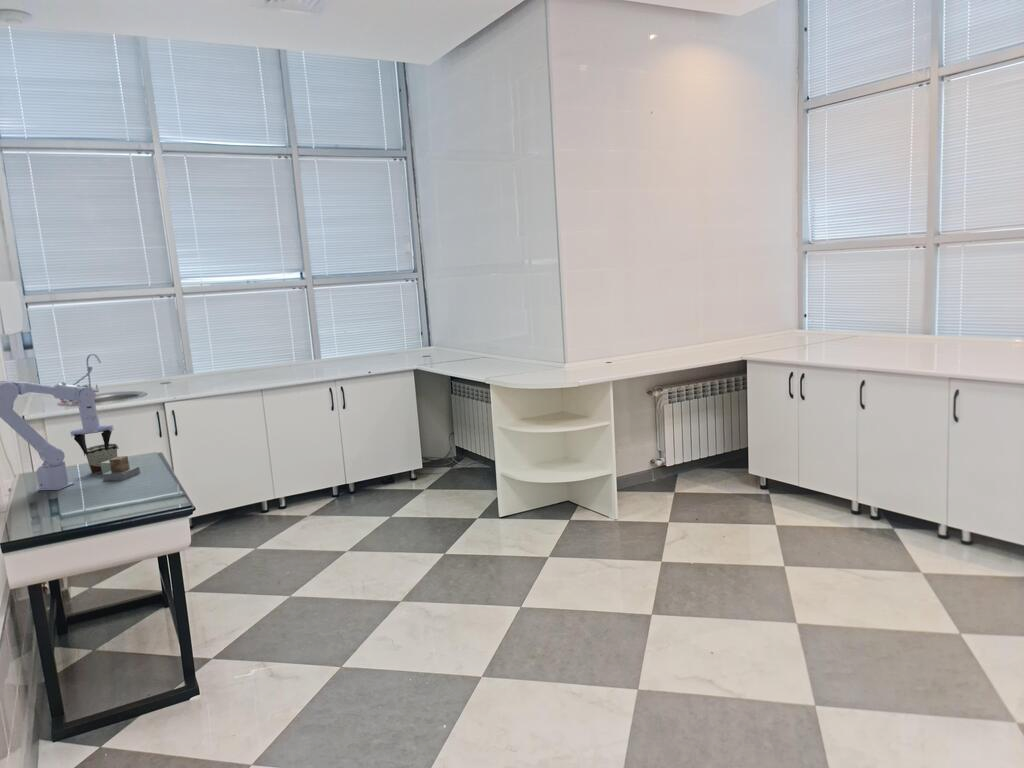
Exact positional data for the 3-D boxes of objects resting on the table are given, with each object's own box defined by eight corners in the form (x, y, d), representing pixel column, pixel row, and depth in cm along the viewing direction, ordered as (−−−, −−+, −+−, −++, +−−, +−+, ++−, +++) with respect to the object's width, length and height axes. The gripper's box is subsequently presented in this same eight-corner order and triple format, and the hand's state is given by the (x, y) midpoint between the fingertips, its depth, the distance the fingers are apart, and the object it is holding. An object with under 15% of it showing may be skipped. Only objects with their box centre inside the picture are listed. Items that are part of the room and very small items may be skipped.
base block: (103, 481, 276) (102, 474, 275) (120, 474, 284) (119, 467, 284) (124, 481, 274) (122, 473, 273) (140, 474, 283) (139, 466, 282)
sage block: (102, 475, 284) (100, 463, 283) (110, 471, 288) (108, 459, 288) (112, 475, 283) (110, 462, 282) (120, 471, 287) (118, 459, 287)
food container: (118, 465, 298) (114, 441, 297) (122, 467, 294) (117, 443, 292) (85, 472, 291) (80, 448, 289) (88, 475, 286) (83, 450, 284)
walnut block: (111, 472, 277) (109, 460, 276) (118, 469, 281) (116, 456, 280) (122, 471, 276) (120, 459, 275) (129, 468, 281) (127, 456, 280)
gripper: (65, 422, 272) (72, 456, 274) (107, 416, 275) (114, 450, 278) (71, 418, 278) (78, 452, 281) (112, 413, 282) (118, 446, 284)
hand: (96, 451), depth 280 cm, fingers open, 7 cm apart
